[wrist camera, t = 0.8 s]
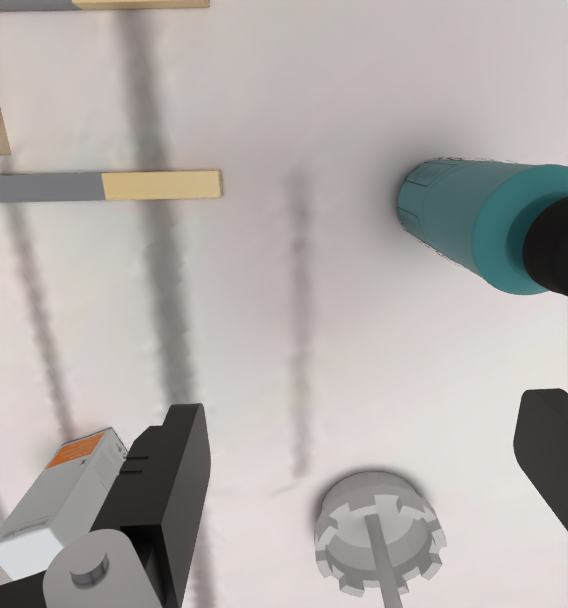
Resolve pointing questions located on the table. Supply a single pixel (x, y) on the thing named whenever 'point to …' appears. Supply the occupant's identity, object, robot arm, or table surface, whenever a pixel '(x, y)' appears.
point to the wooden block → (3, 138)
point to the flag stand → (377, 535)
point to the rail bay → (107, 182)
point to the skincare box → (60, 503)
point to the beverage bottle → (493, 220)
